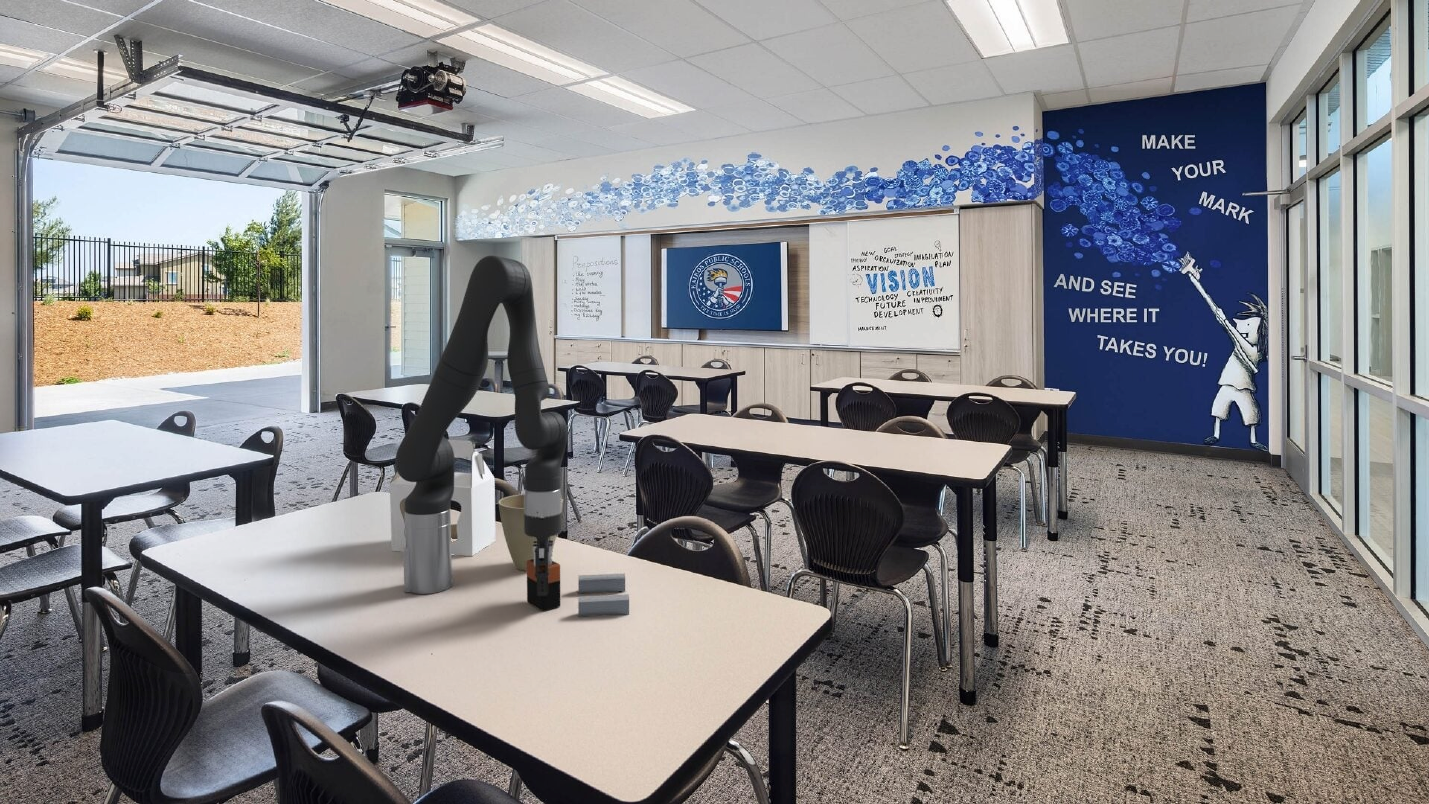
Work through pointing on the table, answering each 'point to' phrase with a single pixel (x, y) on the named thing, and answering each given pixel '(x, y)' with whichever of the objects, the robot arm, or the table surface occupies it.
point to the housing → (602, 603)
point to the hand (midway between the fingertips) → (543, 588)
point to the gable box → (468, 491)
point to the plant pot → (517, 530)
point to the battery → (553, 587)
